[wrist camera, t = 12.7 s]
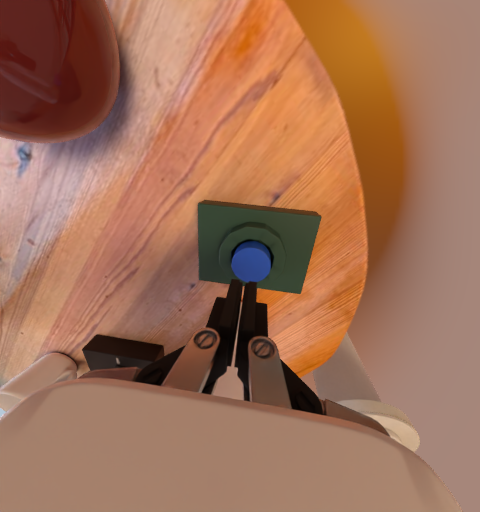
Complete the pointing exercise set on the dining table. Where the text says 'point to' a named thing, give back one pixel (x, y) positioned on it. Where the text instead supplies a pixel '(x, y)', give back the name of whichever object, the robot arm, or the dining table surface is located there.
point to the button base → (260, 230)
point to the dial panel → (120, 353)
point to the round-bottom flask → (56, 69)
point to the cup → (37, 378)
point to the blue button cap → (251, 261)
